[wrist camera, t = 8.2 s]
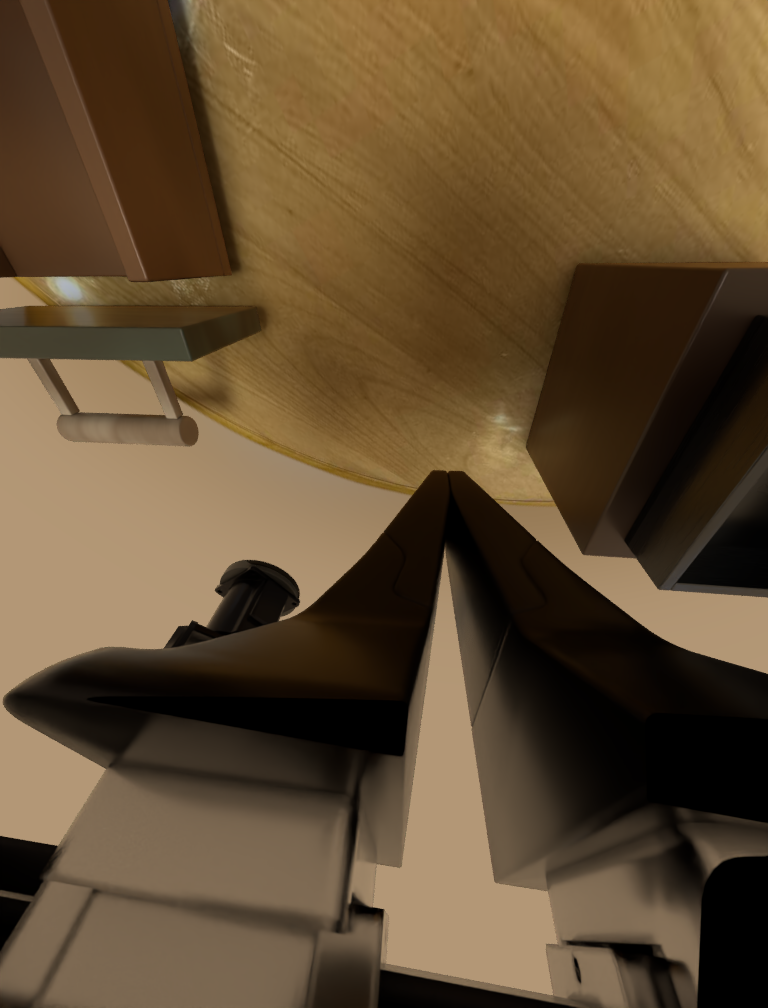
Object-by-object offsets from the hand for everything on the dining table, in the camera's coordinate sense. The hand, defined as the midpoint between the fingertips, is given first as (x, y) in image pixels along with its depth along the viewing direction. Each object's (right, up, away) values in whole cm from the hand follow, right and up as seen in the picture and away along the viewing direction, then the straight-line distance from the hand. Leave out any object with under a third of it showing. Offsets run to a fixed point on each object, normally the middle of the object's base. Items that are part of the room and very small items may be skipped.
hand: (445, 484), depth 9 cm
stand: (+12, +7, +10) cm, 17 cm away
